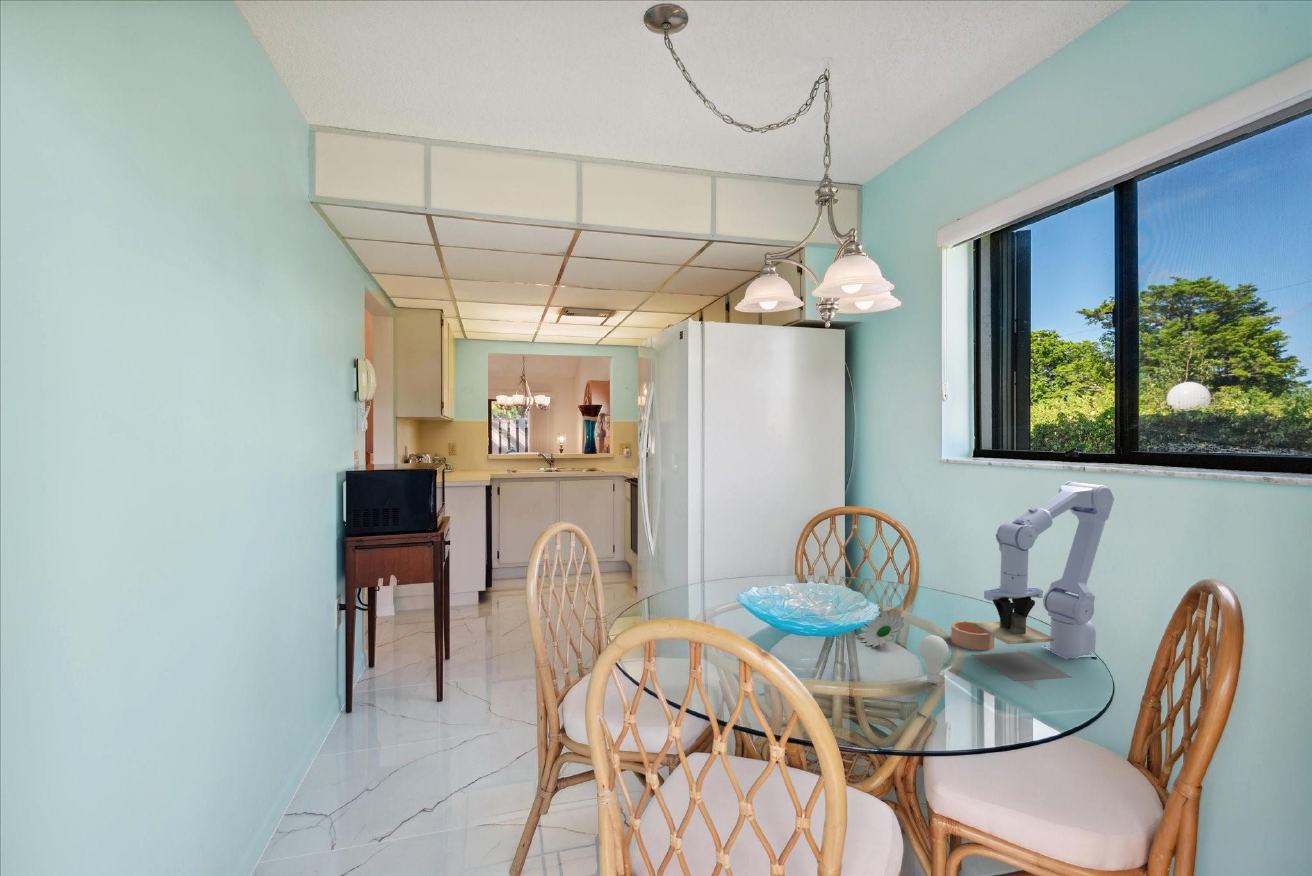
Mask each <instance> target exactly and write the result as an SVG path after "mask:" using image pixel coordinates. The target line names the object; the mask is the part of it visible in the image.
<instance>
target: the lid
mask: <svg viewBox="0 0 1312 876" xmlns="http://www.w3.org/2000/svg"><path fill="white" fill-rule="evenodd" d="M974 627H976V628H978V629H980V630H982V631H984V632H985V633H987V634H989V635H991V636H993V637H994V639H997V640H999V641H1001V642H1003V643H1005V644H1006V645H1018V644H1021V645H1022V644H1035V643H1037V644H1038V643H1050V642H1053V641H1054V638H1052V637H1050V635H1048V634H1047V633H1043V632H1041V631H1039V630H1037V629H1035V628H1033V627H1030V626H1028V625H1027V618H1026V617H1024V616H1022V615H1019V614H1017V613H1015V612H1014V611H1013V612H1012V617H1011V627H1010V629H1006V628H1004V627H1002V625H1001V620H1000V619H999V621H994V622H993V621H992V622H991V621H989V622H977V623H974Z"/></svg>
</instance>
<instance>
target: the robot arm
mask: <svg viewBox="0 0 1312 876" xmlns="http://www.w3.org/2000/svg"><path fill="white" fill-rule="evenodd" d="M1114 501H1115V497H1114V494H1113V493H1112V490H1111V489H1110V487H1109V486H1108V485H1106V484H1094V483H1086V482H1084V483H1083V482H1076V481H1072V480H1069V481H1066V482H1065V483H1064V484H1062V485H1060V486H1059V488H1058V493H1057V494H1056V495H1054V496H1053V497H1052V498H1051V499H1050V500H1049V501H1047V503H1045V504H1044V505H1043V506H1041V507H1035V506H1034V507H1033V506H1032V507H1030V508H1027V509H1028V510H1027V511H1026V512H1025V513H1023V514H1022V515H1021V516H1019V517H1017V518H1015V520H1014V521H1012V522H1005V523H1003V524H1001V525H1000V526H999V527H998V529H997V531H996V533H995V539H996V542H997V543H998V549H999V551H1000V554H1001V555H1000V580H999V581H1000V582H999V583H1000V584H999V586H998V588H994V589H993V588H992V589H989V590H988V589H987V590H983V599H985V600H987V601H989V602H990V601H991V602H992V603H993V604H994V607H995V609H996V610H997V613H998V616H999V621H1000V620H1001V625H1002V627H1004V628H1006V629H1010V627H1011V617H1012V612H1015V613H1017V614H1019V615H1022V616H1024V617H1026V619H1027V617H1029V614H1030V612H1031V611H1032V610H1033V607H1035V605H1036V601H1035V600H1034V599H1032V598H1038V599H1042V603H1043V608H1044V610H1045V611H1046V612H1047V616H1049V617H1050V629H1049V631H1050V632H1049V636H1050V637H1052V638H1054V641H1053V642H1049V646H1050V647H1047V646H1048V645H1041V648H1042V649H1044V650H1046V649H1050V650H1049V651H1048V652H1050V651H1051V652H1050V653H1052V654H1054V655H1057V656H1058V657H1060V658H1062V659H1064V660H1070V659H1069V658H1075V659H1077V658H1076V657H1079V656H1083V655H1089V654H1090V655H1091V654H1092V653H1094V654H1095V655H1096V641H1097V640H1096V637H1097V632H1096V627H1095V626H1094V624H1093V623H1092V621H1091V620H1092V618H1093V616H1094V615H1095V614H1094V613H1095V600H1096V596H1095V594H1094V593H1093V592H1092V591H1091V589H1090V588H1089V587H1088V586H1087V585H1088V582H1089V578H1090V574H1091V572H1092V569H1093V565H1094V562H1095V558H1096V556H1097V555H1096V554H1097V552H1098V548H1099V545H1100V542H1101V538H1102V534H1103V531H1104V527H1105V525H1106V521H1107V520H1109V518H1110V514H1111V511H1112V506H1113V504H1114ZM1067 511H1070V512H1071V513H1072V515H1074V516H1075V517H1077V520H1078V524H1077V528H1076V530H1075V534H1074V536H1073V541H1072V543H1071V548H1070V550H1069V553H1068V557H1067V561H1066V564H1065V568H1064V570H1063V575H1062V577H1061V578H1059V579H1057V580H1055V581H1053V582H1051V583H1050V584H1049V588H1048V590H1047V591H1046V592H1045V594H1044V590H1043V589H1041V588H1037V587H1028V582H1029V581H1028V579H1029V577H1028V576H1029V575H1028V574H1029V572H1028V571H1029V569H1028V568H1029V549H1031V548H1033V546H1034V545H1035V543H1036V540H1037V539H1038V537H1039V535H1042V533H1043V532H1045V531H1047V530H1048V529H1049V528H1050V527H1052V526H1053V519H1055V518H1056V517H1058V516H1060V515H1062V514H1063V513H1066V512H1067ZM1010 599H1011V600H1010ZM1044 646H1046V647H1044ZM1090 651H1091V652H1092V653H1091V652H1090Z"/></svg>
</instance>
